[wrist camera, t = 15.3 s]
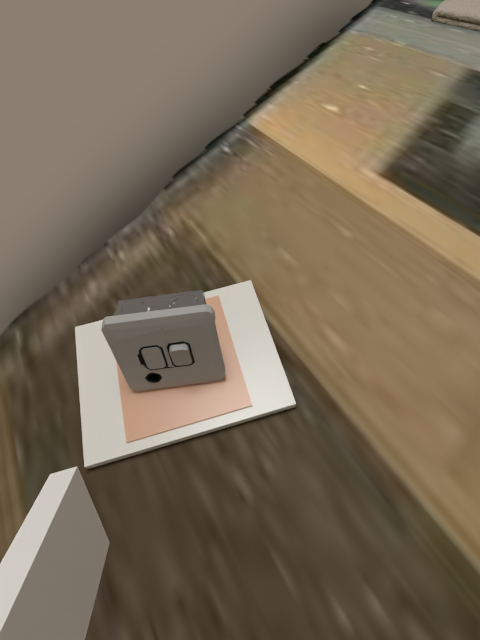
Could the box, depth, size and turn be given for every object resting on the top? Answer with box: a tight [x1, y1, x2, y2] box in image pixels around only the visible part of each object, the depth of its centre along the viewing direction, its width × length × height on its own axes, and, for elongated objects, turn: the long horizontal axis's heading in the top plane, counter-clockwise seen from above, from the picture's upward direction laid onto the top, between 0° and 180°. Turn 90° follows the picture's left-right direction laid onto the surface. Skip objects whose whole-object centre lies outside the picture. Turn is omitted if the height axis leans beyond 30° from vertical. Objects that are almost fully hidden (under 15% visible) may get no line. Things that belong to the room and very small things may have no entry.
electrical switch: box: [101, 290, 225, 391], centre depth 35 cm, size 9×5×9 cm, turn 96°
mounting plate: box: [75, 280, 296, 469], centre depth 39 cm, size 20×15×1 cm
